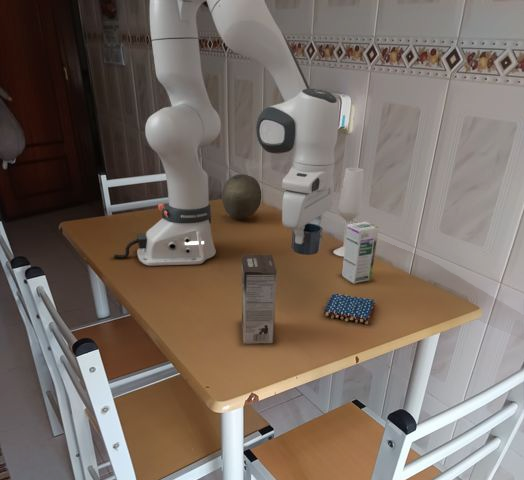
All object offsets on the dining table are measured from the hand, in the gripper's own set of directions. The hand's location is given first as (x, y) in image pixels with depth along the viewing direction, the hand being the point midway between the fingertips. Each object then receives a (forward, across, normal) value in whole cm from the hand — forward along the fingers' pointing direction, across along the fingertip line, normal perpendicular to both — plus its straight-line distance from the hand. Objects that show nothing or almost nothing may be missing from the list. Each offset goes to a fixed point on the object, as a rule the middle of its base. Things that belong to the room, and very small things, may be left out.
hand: (307, 237), depth 113 cm
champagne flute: (+15, -35, -2) cm, 38 cm away
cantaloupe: (+16, -46, -44) cm, 66 cm away
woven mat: (+15, +1, +13) cm, 20 cm away
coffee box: (+15, +21, -1) cm, 26 cm away
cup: (+3, 0, 0) cm, 3 cm away
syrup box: (+15, -18, +8) cm, 25 cm away
